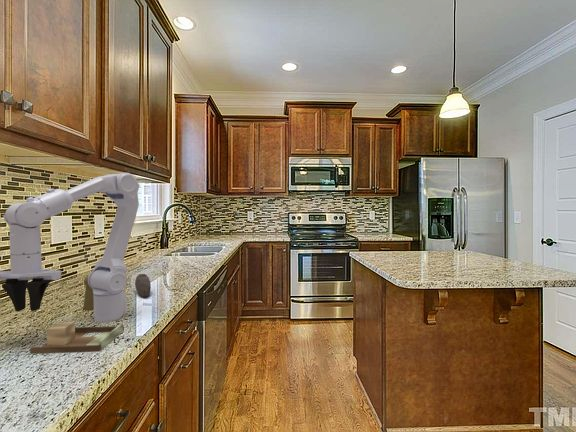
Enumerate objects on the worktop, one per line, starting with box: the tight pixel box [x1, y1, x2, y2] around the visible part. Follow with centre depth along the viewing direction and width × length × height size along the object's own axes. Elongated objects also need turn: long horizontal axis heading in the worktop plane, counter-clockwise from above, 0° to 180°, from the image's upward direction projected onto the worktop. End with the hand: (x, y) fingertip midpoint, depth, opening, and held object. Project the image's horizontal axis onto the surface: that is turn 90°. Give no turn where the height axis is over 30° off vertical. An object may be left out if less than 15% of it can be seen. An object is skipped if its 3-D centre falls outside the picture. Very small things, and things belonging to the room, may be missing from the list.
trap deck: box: [29, 323, 125, 355], centre depth 78 cm, size 12×15×4 cm
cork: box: [83, 275, 94, 311], centre depth 108 cm, size 6×6×11 cm
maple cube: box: [46, 321, 76, 346], centre depth 78 cm, size 4×4×4 cm
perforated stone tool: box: [134, 273, 152, 298], centre depth 124 cm, size 15×5×7 cm, turn 28°
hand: (27, 310), depth 77 cm, fingers open, 3 cm apart
